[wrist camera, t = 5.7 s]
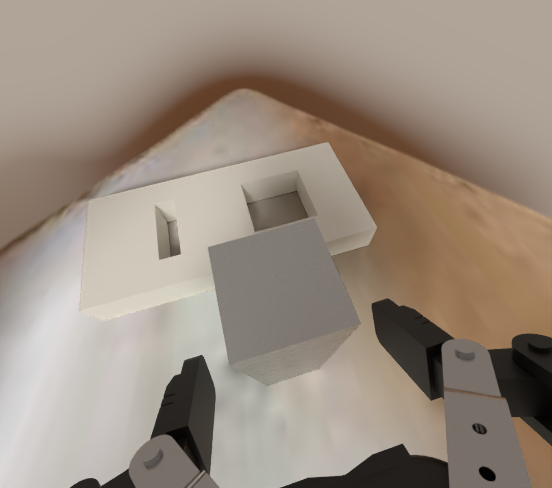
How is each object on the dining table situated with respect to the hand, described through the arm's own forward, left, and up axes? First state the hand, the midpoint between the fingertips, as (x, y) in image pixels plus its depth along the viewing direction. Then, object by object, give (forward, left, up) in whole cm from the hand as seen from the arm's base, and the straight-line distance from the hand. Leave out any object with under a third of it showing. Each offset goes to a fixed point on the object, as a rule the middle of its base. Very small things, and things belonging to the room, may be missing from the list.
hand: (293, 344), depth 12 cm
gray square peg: (0, +1, -9) cm, 9 cm away
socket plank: (-2, +13, -9) cm, 16 cm away
